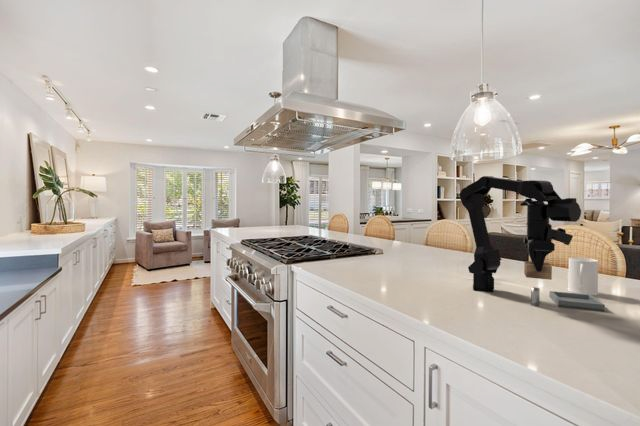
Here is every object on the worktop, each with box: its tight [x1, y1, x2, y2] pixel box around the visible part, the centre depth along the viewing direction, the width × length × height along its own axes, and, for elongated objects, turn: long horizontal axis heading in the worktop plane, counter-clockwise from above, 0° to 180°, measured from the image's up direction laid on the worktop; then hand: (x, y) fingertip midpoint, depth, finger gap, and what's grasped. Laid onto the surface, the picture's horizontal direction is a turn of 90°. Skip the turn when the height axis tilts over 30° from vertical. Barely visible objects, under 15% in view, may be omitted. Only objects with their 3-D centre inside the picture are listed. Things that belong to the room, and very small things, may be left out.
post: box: [530, 286, 541, 307], centre depth 97 cm, size 2×2×6 cm
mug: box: [567, 257, 600, 297], centre depth 109 cm, size 12×8×12 cm
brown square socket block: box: [523, 261, 553, 281], centre depth 97 cm, size 6×6×4 cm
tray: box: [548, 290, 606, 312], centre depth 98 cm, size 11×11×2 cm
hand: (537, 269), depth 97 cm, fingers closed on brown square socket block, 6 cm apart
